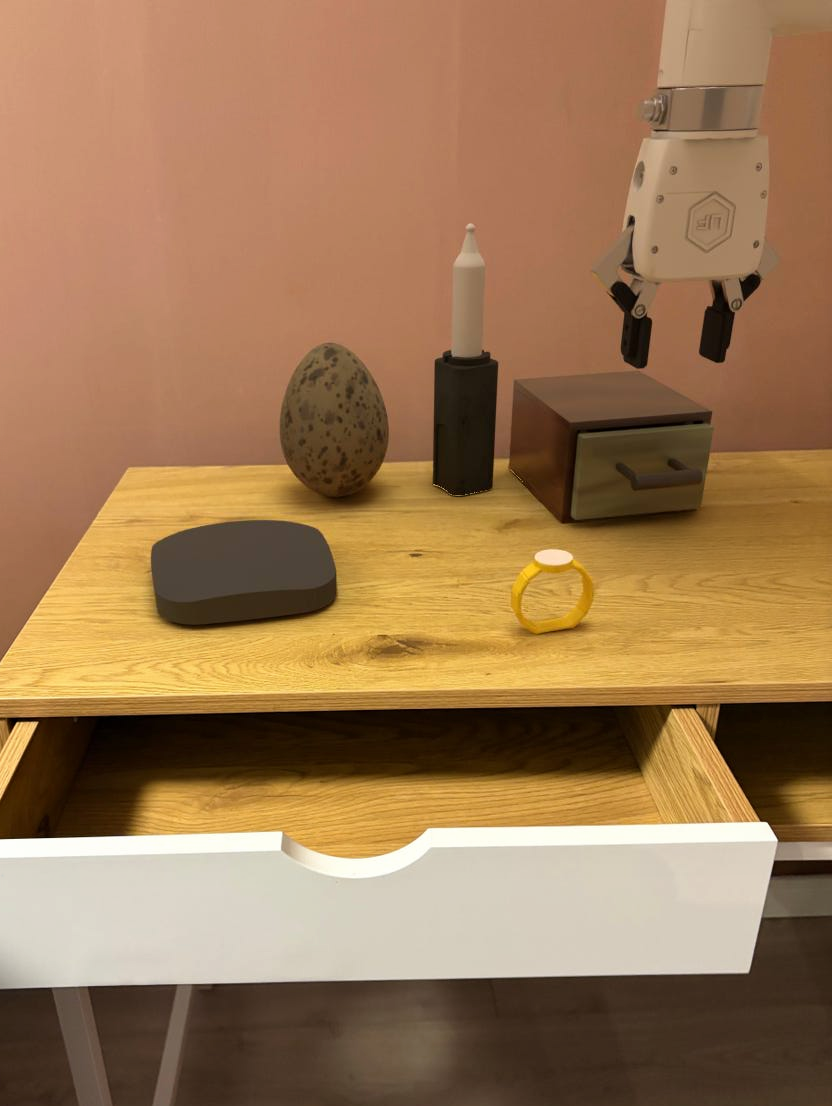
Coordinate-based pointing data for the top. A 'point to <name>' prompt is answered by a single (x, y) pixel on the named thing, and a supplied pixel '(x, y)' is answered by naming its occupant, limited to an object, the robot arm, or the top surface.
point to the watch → (552, 564)
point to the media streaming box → (242, 572)
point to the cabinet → (583, 425)
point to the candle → (465, 386)
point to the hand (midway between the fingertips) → (673, 360)
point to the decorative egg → (333, 422)
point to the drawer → (640, 469)
